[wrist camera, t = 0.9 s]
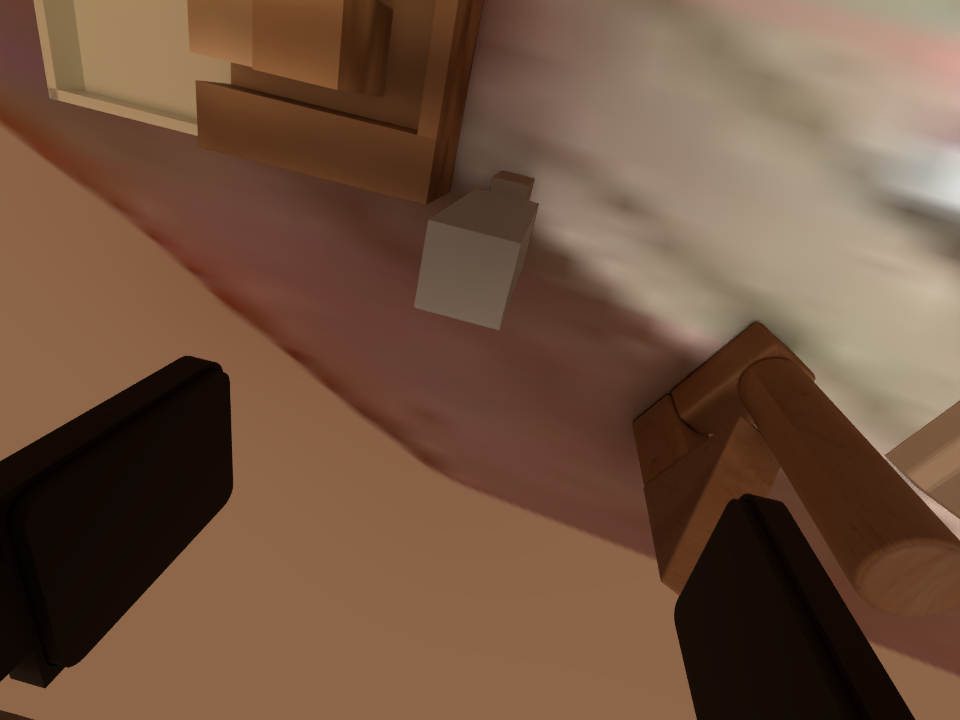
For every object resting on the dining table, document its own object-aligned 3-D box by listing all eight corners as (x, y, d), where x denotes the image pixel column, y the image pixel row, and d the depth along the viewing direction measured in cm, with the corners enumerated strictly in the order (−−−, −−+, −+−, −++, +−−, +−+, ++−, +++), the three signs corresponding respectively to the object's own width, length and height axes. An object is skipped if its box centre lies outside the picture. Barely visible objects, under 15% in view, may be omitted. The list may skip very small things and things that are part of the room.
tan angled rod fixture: (629, 421, 36) (672, 660, 20) (756, 318, 31) (942, 520, 15) (666, 451, 37) (736, 707, 21) (795, 354, 32) (1016, 586, 16)
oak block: (319, -8, 26) (252, -42, 20) (393, 9, 26) (345, -20, 20) (315, 79, 28) (252, 69, 22) (383, 96, 27) (337, 89, 22)
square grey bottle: (490, 167, 30) (431, 198, 18) (546, 181, 30) (526, 223, 18) (474, 247, 33) (411, 324, 20) (525, 260, 32) (494, 346, 20)
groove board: (257, -120, 26) (184, -176, 21) (495, -68, 25) (476, -113, 21) (255, 143, 32) (198, 146, 27) (449, 192, 31) (425, 204, 26)
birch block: (238, -27, 26) (184, -50, 22) (310, -10, 26) (268, -31, 22) (238, 61, 28) (189, 52, 24) (306, 77, 28) (266, 70, 24)
